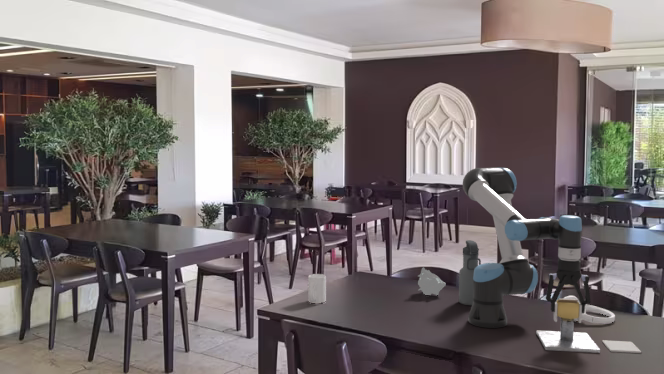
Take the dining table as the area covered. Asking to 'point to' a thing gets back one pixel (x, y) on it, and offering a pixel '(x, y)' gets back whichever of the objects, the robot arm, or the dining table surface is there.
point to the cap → (568, 308)
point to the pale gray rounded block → (317, 288)
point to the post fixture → (567, 339)
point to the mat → (621, 346)
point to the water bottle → (468, 272)
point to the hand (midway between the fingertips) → (567, 321)
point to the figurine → (430, 282)
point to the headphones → (597, 310)
